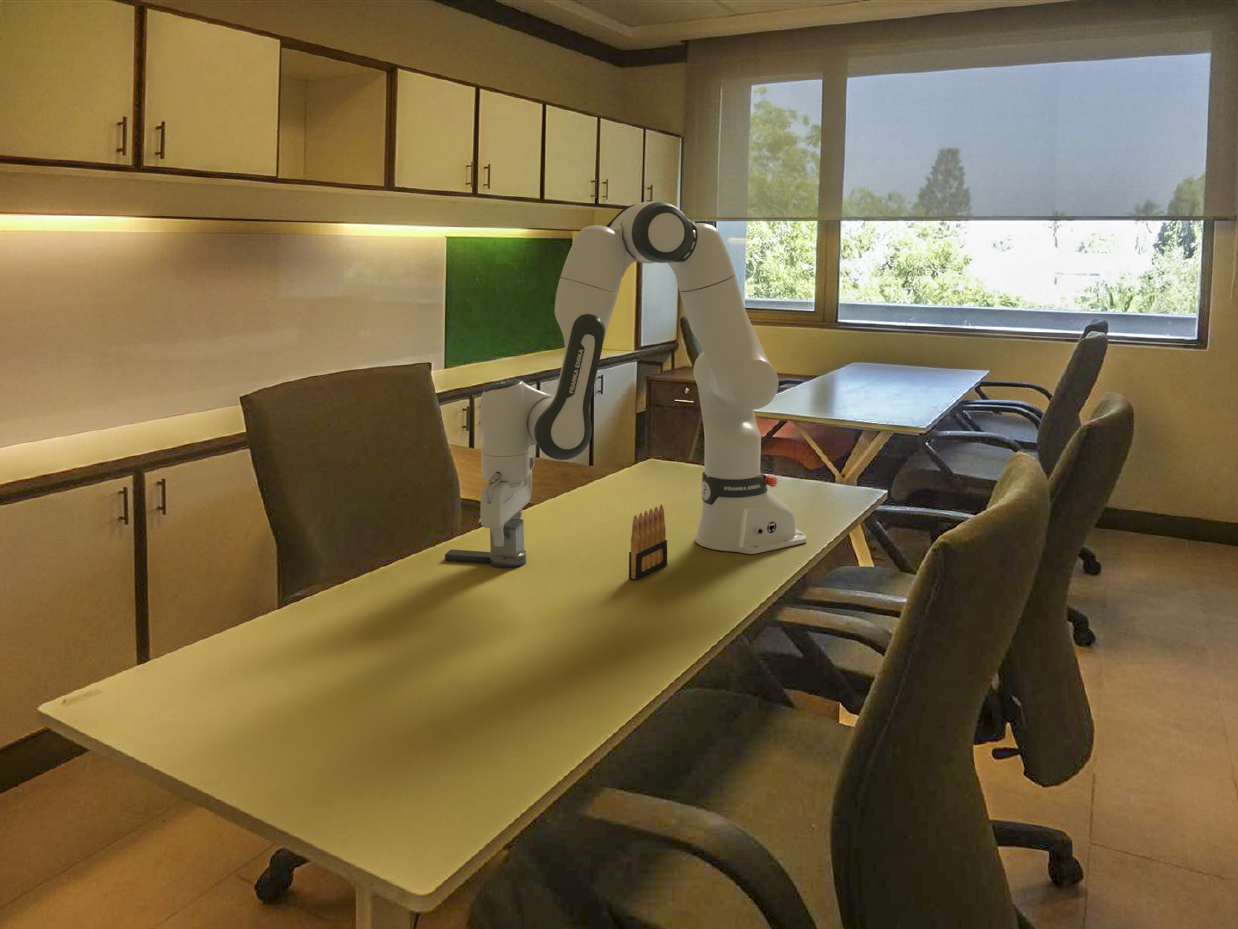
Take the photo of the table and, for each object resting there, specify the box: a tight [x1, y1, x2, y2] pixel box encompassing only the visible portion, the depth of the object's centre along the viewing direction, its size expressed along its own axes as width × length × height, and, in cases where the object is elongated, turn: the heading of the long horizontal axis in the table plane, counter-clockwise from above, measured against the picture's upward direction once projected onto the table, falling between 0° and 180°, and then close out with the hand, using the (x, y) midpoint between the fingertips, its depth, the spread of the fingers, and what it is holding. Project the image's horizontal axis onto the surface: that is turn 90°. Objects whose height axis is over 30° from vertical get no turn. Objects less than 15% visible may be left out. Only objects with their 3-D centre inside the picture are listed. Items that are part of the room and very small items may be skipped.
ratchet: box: [444, 549, 527, 570], centre depth 204 cm, size 16×7×5 cm, turn 78°
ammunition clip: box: [628, 504, 668, 582], centre depth 197 cm, size 11×2×12 cm, turn 146°
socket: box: [489, 518, 525, 557], centre depth 203 cm, size 5×5×6 cm
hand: (507, 538), depth 203 cm, fingers open, 8 cm apart
